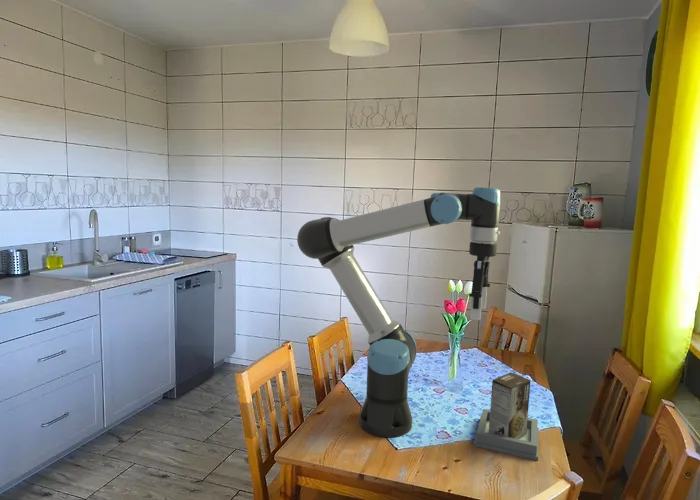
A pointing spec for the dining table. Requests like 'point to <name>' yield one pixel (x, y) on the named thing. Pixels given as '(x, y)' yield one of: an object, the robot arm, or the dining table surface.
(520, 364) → the dining table surface
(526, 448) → the tray
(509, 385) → the coffee box
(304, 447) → the dining table surface
